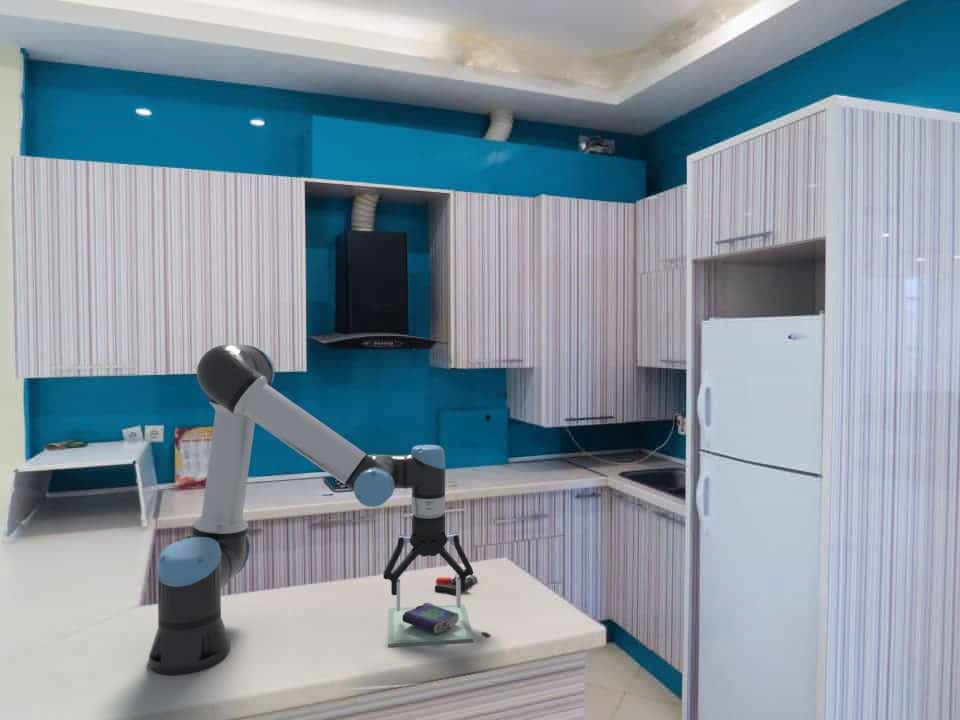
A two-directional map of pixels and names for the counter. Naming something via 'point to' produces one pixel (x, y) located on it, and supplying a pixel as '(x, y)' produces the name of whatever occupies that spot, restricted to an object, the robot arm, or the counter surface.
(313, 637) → the counter surface
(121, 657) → the counter surface
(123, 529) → the counter surface
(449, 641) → the mat
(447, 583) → the toy gun
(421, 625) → the blue clover box
